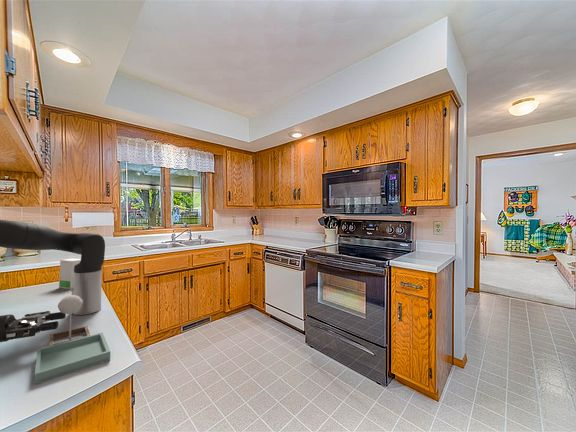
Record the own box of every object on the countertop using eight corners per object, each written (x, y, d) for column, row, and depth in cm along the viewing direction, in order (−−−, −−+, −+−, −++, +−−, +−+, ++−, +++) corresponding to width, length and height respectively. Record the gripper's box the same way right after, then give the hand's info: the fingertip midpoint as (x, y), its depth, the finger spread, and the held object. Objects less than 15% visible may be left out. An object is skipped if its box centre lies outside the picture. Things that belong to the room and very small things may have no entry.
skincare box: (58, 288, 136) (58, 260, 136) (70, 284, 143) (71, 258, 143) (71, 289, 135) (71, 260, 135) (83, 285, 141) (83, 258, 141)
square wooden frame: (49, 340, 81) (49, 334, 81) (87, 331, 88) (87, 325, 88) (49, 352, 74) (49, 346, 74) (90, 341, 81) (90, 335, 81)
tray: (37, 357, 71) (37, 349, 71) (102, 340, 82) (102, 332, 82) (34, 384, 60) (34, 374, 60) (110, 359, 71) (110, 351, 71)
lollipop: (80, 334, 85) (80, 291, 85) (84, 340, 81) (84, 295, 81) (55, 341, 80) (56, 295, 80) (58, 348, 77) (59, 299, 77)
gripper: (-27, 327, 65) (55, 315, 74) (0, 309, 78) (67, 301, 86) (-27, 356, 65) (55, 341, 74) (-1, 333, 78) (67, 322, 86)
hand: (61, 319), depth 80 cm, fingers open, 8 cm apart
